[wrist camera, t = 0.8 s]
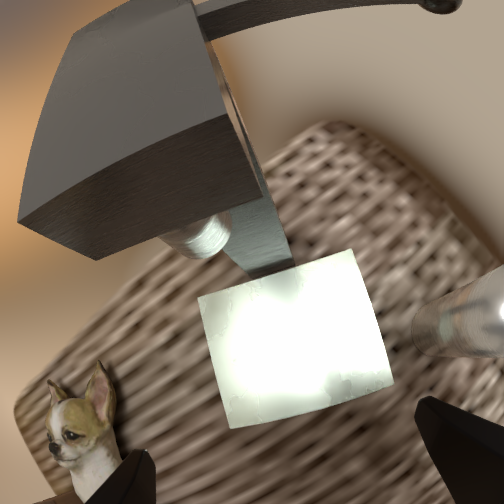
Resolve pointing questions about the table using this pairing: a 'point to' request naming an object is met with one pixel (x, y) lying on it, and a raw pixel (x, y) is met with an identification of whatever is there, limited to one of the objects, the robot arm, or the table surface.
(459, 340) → the cocktail shaker
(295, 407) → the press
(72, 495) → the brown angular piece
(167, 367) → the table surface
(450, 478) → the robot arm
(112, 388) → the ceramic sculpture
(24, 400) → the table surface
